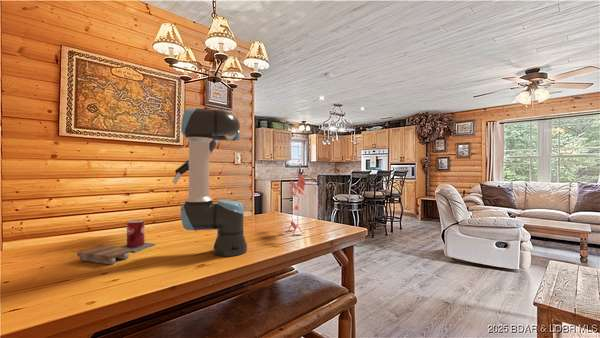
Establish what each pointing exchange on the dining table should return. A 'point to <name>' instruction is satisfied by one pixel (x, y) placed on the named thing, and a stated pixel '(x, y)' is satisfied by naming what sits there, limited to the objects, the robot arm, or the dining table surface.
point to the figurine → (300, 186)
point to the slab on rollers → (104, 254)
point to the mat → (139, 247)
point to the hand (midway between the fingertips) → (184, 183)
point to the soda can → (135, 233)
